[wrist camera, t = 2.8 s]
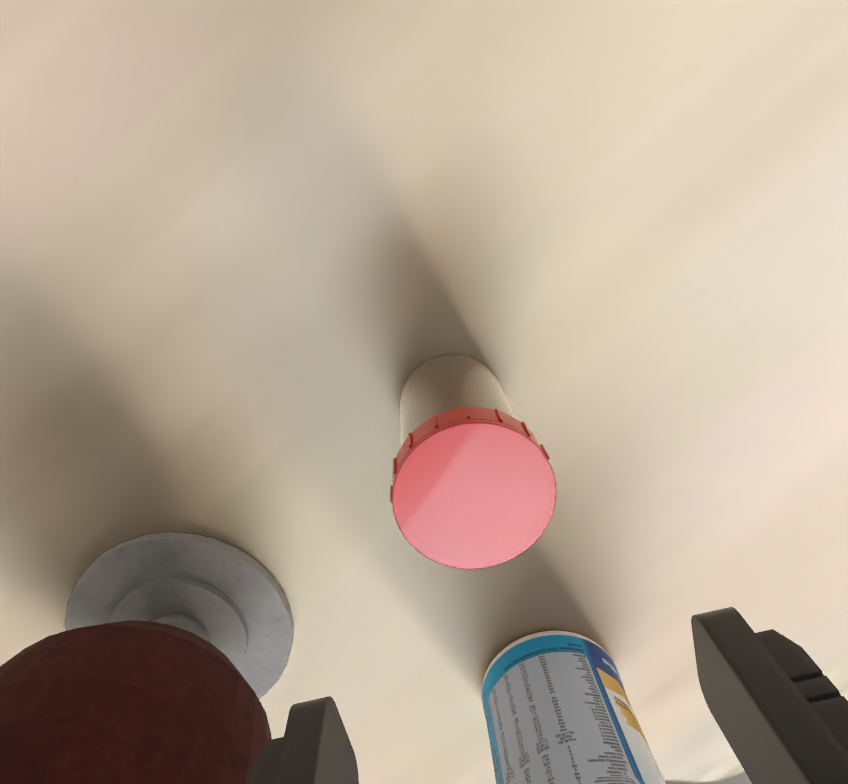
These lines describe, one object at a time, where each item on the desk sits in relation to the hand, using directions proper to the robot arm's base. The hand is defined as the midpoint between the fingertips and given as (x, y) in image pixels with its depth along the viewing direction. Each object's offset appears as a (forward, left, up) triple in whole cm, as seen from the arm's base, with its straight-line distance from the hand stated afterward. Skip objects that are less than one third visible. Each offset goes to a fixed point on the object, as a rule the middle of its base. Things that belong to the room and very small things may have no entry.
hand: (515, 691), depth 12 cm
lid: (+1, -1, -10) cm, 10 cm away
